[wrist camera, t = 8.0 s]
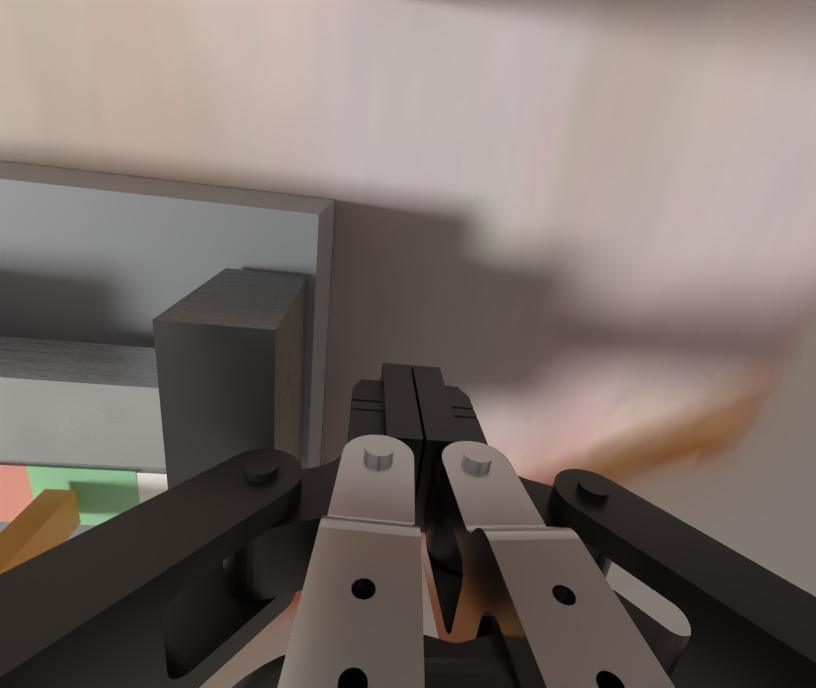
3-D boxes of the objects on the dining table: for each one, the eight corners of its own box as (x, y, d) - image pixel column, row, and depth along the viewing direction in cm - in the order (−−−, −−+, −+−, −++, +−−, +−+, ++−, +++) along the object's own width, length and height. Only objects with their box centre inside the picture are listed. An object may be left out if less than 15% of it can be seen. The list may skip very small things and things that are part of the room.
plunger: (-186, 228, 10) (-504, 264, 7) (307, 275, 11) (275, 330, 8) (-78, 535, 13) (-249, 675, 10) (297, 548, 15) (271, 678, 11)
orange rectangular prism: (44, 488, 13) (-46, 577, 10) (75, 490, 13) (-7, 578, 10) (52, 521, 13) (-33, 615, 11) (80, 522, 13) (4, 616, 11)
